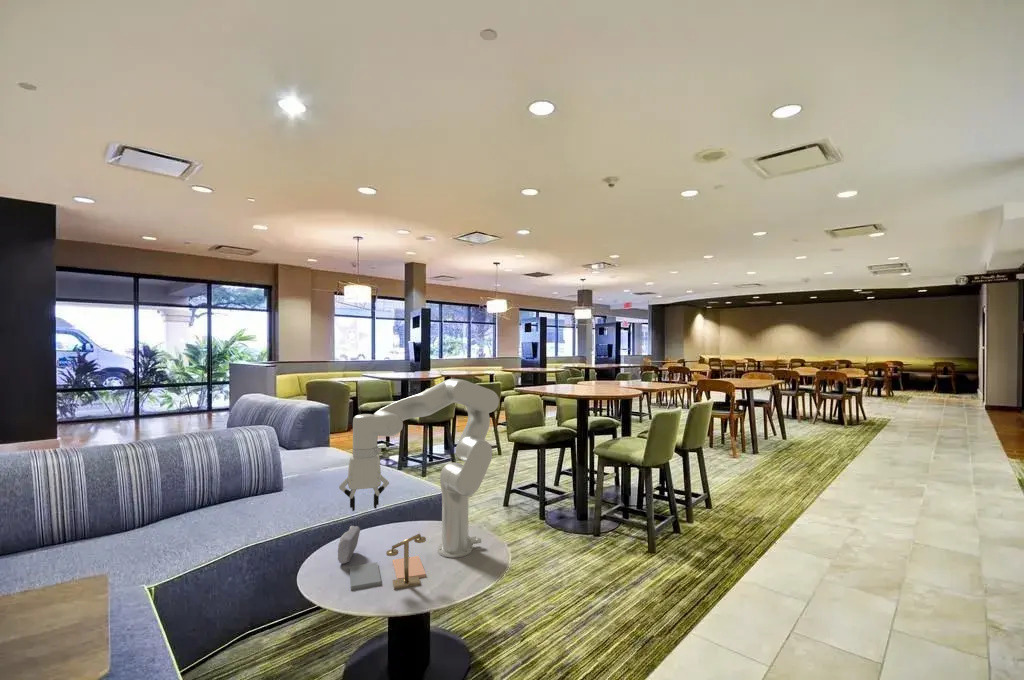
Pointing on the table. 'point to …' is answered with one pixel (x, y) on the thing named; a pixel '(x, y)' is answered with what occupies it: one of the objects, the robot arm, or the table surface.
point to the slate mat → (364, 576)
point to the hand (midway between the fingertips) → (364, 507)
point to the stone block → (348, 544)
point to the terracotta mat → (414, 567)
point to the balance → (406, 563)
